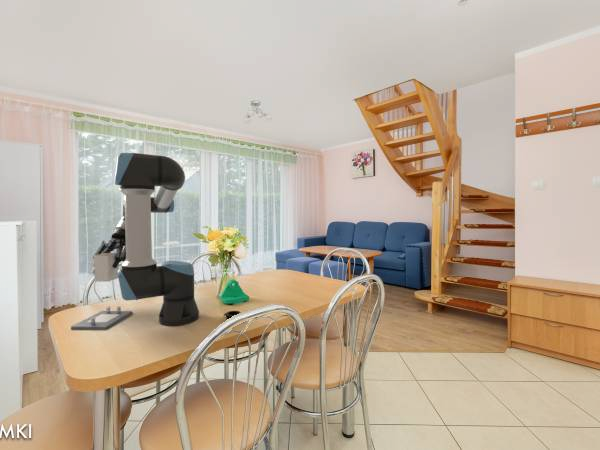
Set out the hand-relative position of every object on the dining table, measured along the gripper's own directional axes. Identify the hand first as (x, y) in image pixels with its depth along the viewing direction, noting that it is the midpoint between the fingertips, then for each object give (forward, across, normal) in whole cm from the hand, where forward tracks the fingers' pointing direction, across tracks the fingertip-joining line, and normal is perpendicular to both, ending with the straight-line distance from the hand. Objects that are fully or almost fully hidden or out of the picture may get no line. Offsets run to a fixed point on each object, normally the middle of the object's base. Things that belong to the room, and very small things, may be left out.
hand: (101, 273), depth 127 cm
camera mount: (0, -53, -25) cm, 58 cm away
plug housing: (0, 0, -5) cm, 5 cm away
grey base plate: (+18, -7, -6) cm, 20 cm away
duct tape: (+17, -58, -8) cm, 61 cm away
